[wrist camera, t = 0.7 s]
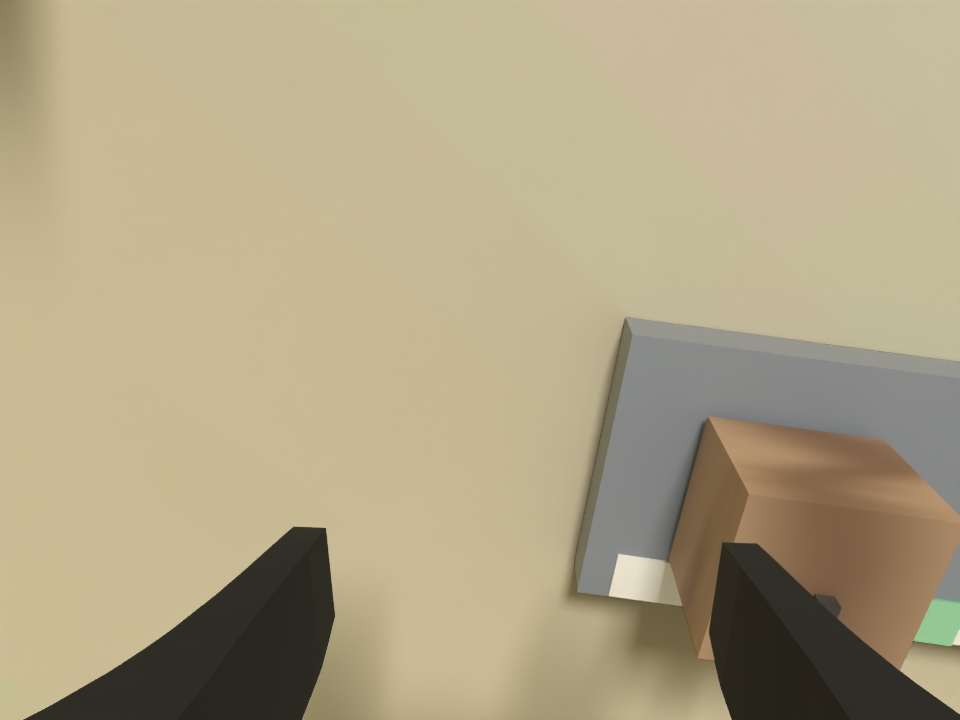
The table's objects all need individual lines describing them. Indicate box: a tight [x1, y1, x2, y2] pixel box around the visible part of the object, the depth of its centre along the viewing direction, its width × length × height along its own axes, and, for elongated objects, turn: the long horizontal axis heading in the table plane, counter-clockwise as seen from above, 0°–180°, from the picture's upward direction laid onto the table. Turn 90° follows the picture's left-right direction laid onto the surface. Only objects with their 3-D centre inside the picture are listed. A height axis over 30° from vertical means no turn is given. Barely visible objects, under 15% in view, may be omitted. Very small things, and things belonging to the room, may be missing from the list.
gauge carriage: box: [669, 416, 960, 671], centre depth 19 cm, size 5×7×4 cm
